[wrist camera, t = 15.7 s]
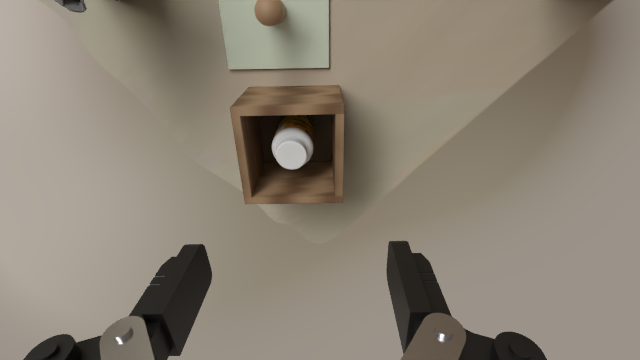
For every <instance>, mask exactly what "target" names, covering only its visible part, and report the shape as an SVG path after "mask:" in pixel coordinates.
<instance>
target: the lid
mask: <svg viewBox="0 0 640 360" xmlns="http://www.w3.org/2000/svg"><path fill="white" fill-rule="evenodd" d="M218 1H219V7H220V14H221V21H222V28H223V35H224V41H225V48H226V55H227V62H228V69H282V68H329V0H218Z"/></svg>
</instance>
